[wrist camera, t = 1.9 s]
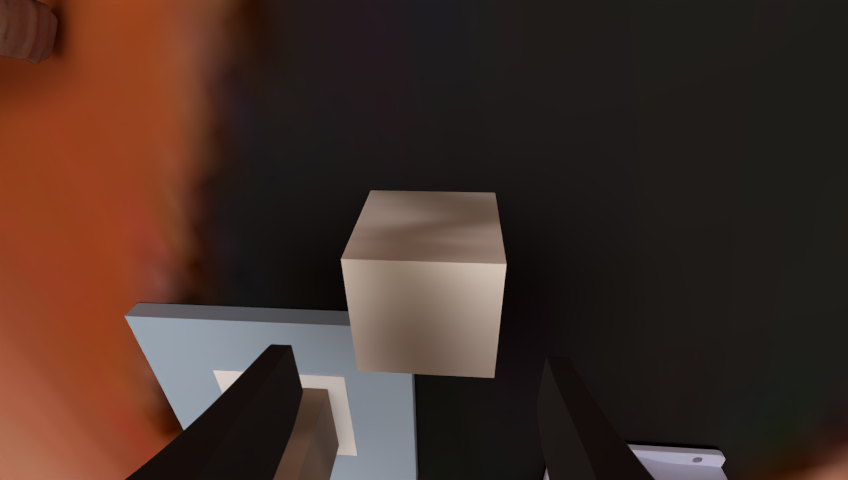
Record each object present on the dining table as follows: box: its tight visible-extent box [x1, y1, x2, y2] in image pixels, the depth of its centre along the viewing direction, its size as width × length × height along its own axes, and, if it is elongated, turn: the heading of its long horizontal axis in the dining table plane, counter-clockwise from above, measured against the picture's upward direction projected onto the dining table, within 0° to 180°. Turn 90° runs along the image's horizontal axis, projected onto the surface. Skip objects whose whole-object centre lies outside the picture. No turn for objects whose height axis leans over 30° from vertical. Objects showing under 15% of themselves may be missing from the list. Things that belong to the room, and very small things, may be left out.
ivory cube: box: [341, 191, 506, 378], centre depth 16 cm, size 5×5×5 cm
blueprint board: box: [125, 303, 418, 480], centre depth 24 cm, size 14×14×1 cm
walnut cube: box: [273, 388, 339, 480], centre depth 21 cm, size 5×5×5 cm
